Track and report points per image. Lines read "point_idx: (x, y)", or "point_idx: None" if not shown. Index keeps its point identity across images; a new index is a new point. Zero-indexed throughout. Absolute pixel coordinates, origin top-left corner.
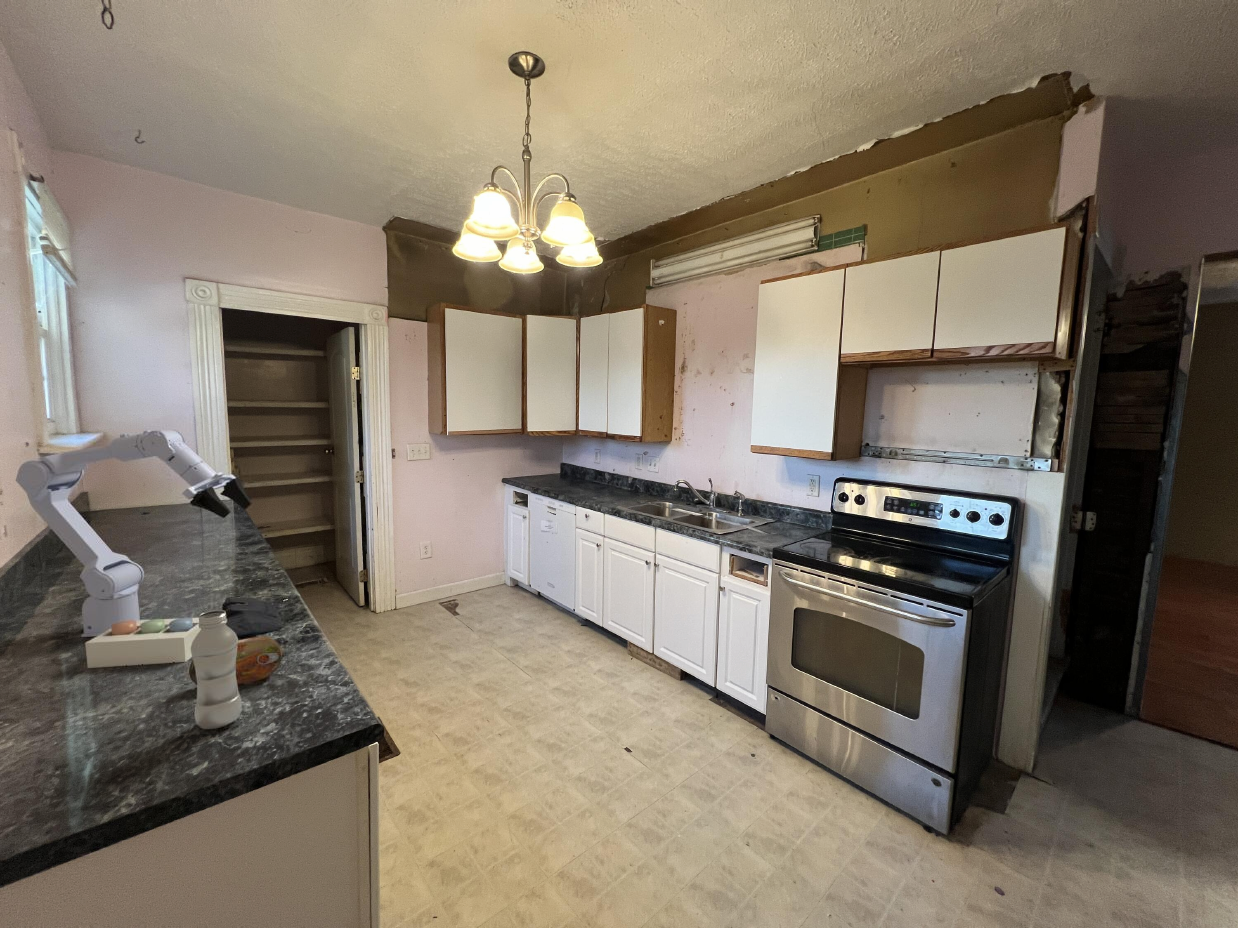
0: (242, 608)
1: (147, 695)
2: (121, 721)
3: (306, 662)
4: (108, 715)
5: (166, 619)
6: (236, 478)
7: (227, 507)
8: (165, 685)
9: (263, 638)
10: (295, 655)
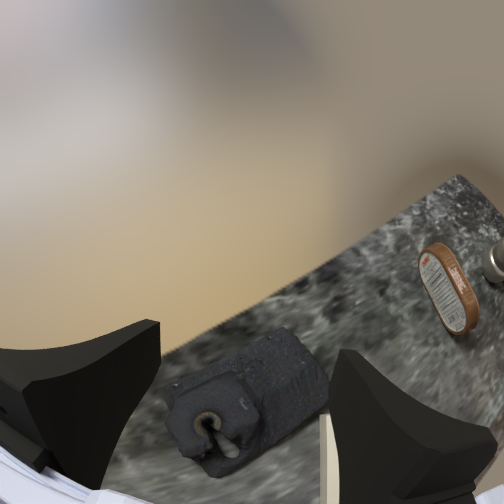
0: (239, 408)
1: (465, 379)
2: (498, 360)
3: (392, 246)
4: (492, 383)
5: (329, 486)
6: (4, 370)
7: (351, 359)
8: (448, 377)
9: (444, 252)
10: (376, 267)
